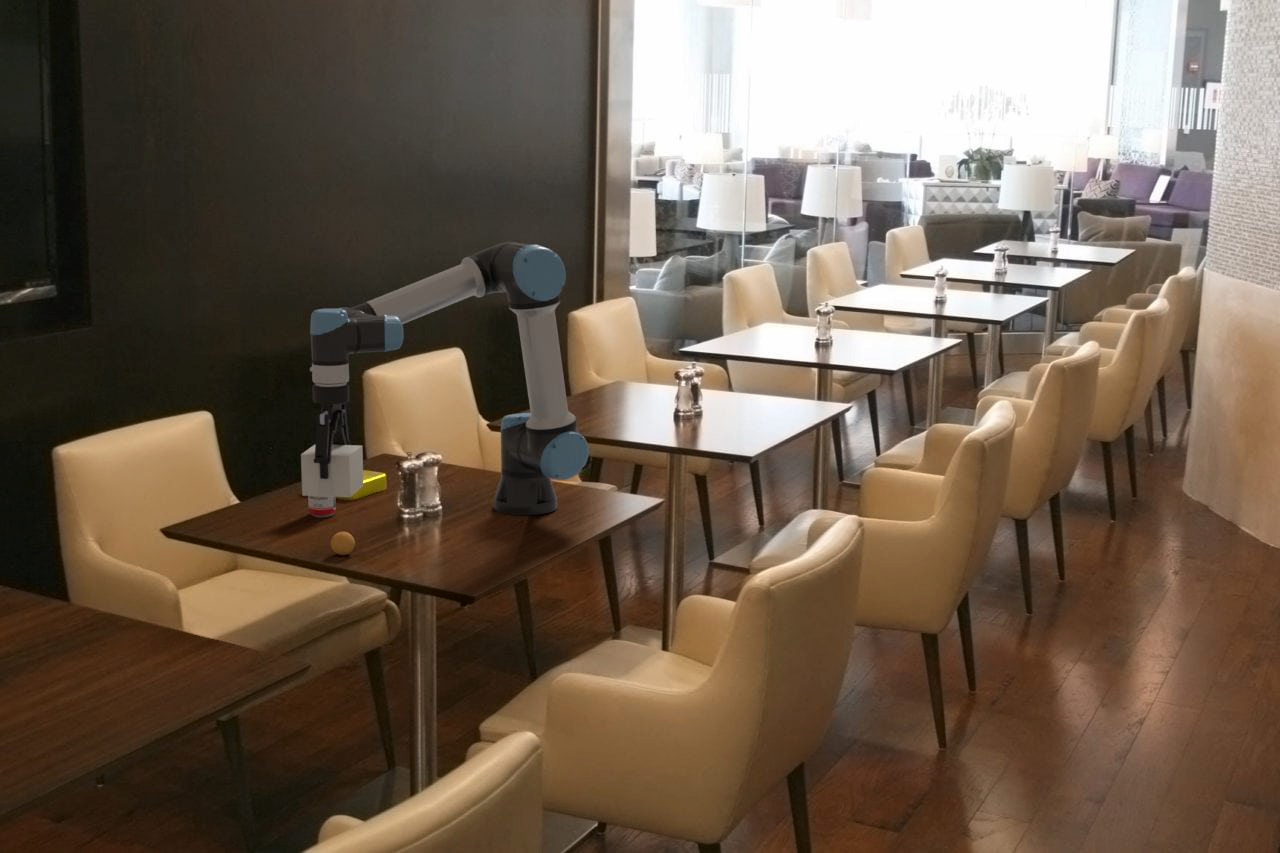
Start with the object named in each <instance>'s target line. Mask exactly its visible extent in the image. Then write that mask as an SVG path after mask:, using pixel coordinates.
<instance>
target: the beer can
mask: <svg viewBox="0 0 1280 853" xmlns="http://www.w3.org/2000/svg"><path fill="white" fill-rule="evenodd" d="M311 447H312V446H311ZM311 447H309V448H311ZM307 500H308V501H307V502H308V513H309V514H310V515H311V516H312V517H313V516H314V517H313V518H329V516H330V517H332V516H333V515H334V514H336V511H337V504H336V503H337V502H336V497H328V496H307Z"/></svg>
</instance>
